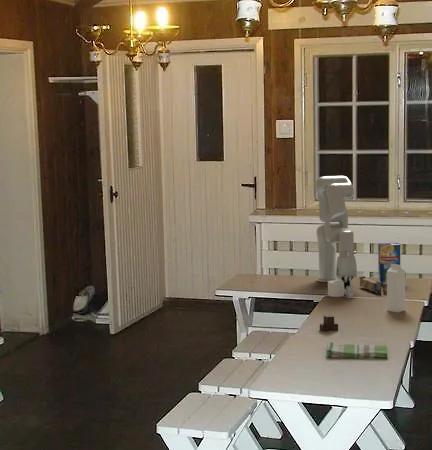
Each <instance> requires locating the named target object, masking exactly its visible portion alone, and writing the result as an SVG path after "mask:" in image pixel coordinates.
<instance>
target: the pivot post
mask: <svg viewBox="0 0 432 450" xmlns="http://www.w3.org/2000/svg"><path fill="white" fill-rule="evenodd" d="M375 282H376V292H375V294H376V295H382V285H381V281H379V280H377V281H375Z"/></svg>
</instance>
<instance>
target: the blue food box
mask: <svg viewBox="0 0 432 450" xmlns="http://www.w3.org/2000/svg"><path fill="white" fill-rule="evenodd" d="M377 244H378V252H377V253H378V255H377V256H378V259H377V260H378V261H377V262H378V263H377V264H378V269H377V270H378V281H381V286H383V283H387V270H388V269H389V268H390V267H391V264H397V265H401V244H400V243H399V242H386V243H385V242H384V243H382V242H379V243H377Z"/></svg>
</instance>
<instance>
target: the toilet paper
mask: <svg viewBox="0 0 432 450" xmlns="http://www.w3.org/2000/svg"><path fill="white" fill-rule="evenodd" d="M327 296H329V297H333V298H340V297H344V296H345V289H344V281H343V280H338V281H337V280H335V281H328V282H327Z"/></svg>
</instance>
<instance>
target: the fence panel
mask: <svg viewBox="0 0 432 450" xmlns="http://www.w3.org/2000/svg"><path fill="white" fill-rule="evenodd" d="M382 286H383V287H382V293H383V294H384V295H387V283H383V285H382Z"/></svg>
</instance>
